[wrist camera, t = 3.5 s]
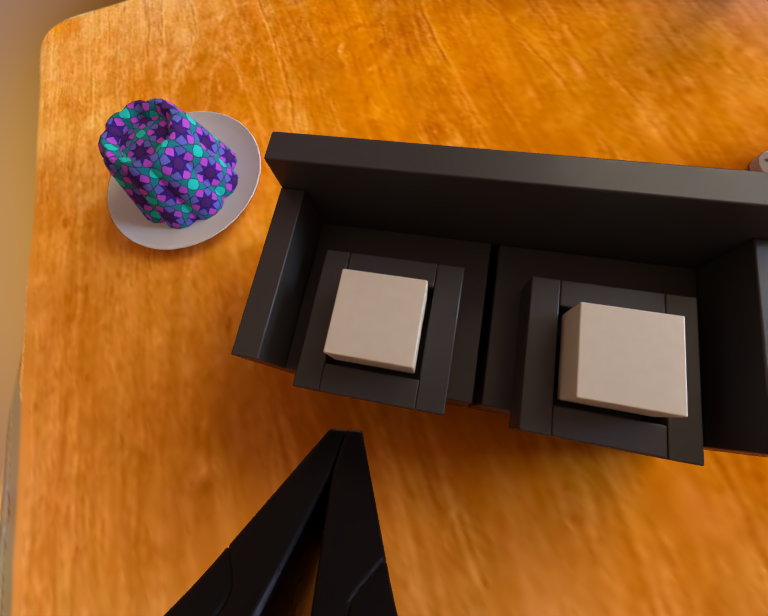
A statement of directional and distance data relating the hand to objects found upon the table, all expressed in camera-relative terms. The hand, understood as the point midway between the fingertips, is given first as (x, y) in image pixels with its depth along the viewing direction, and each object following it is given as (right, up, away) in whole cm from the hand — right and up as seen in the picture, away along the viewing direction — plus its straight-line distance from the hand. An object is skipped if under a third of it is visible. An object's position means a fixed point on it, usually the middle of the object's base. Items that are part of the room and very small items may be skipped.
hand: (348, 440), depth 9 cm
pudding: (-14, +13, +18) cm, 27 cm away
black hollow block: (+6, +1, +13) cm, 14 cm away
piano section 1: (+11, +1, +12) cm, 16 cm away
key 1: (+10, +1, +5) cm, 11 cm away
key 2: (+1, +3, +7) cm, 7 cm away
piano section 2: (+2, +2, +13) cm, 14 cm away
